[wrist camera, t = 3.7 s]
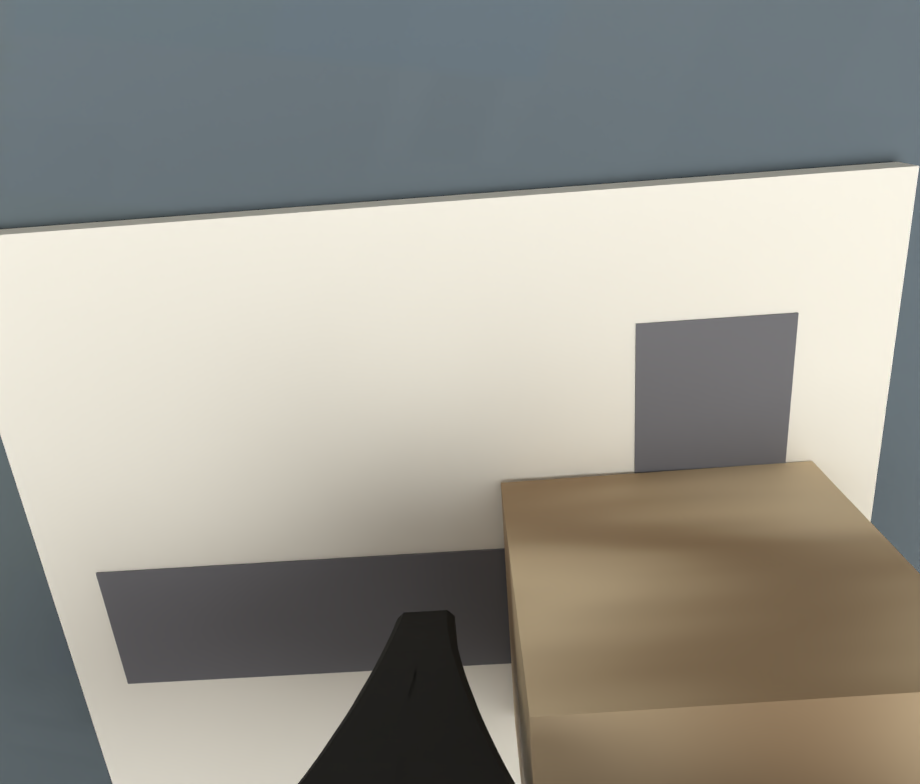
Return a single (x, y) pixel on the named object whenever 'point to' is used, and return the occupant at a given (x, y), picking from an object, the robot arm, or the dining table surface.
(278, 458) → the letter card
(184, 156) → the dining table surface
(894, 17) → the dining table surface
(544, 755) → the oak block
